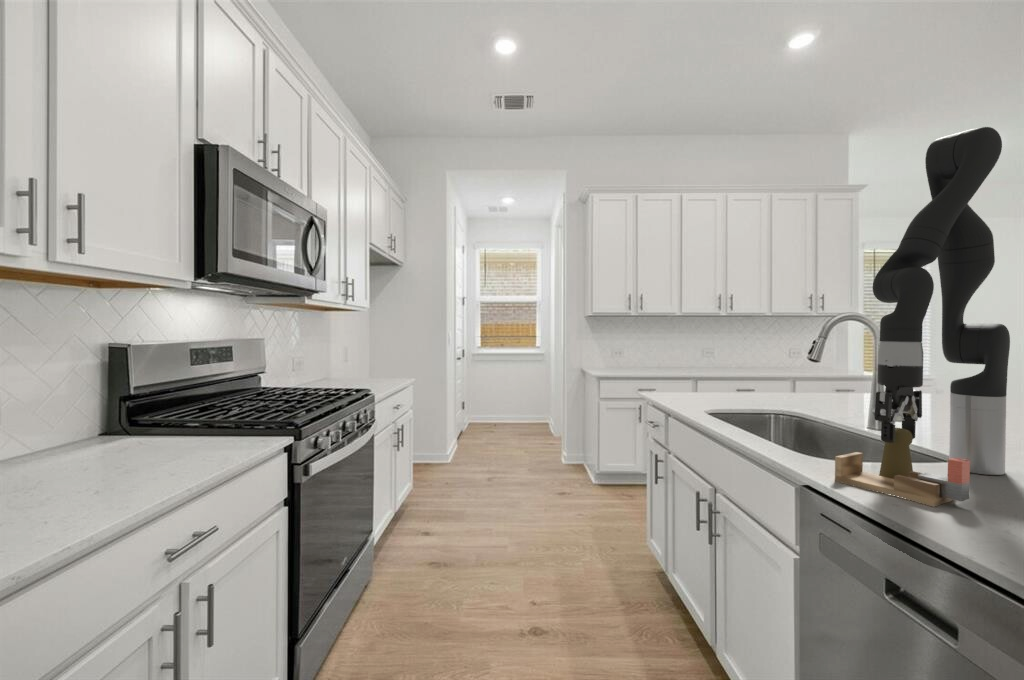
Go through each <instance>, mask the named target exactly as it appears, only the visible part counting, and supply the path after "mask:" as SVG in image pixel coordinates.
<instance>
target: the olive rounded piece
mask: <svg viewBox="0 0 1024 680" xmlns="http://www.w3.org/2000/svg"><path fill="white" fill-rule="evenodd" d="M913 440H914V439H913V436H912V433H911V432H910V431H908V430H906V429H902V427H895V442H892V443H890V442H884V446H883V451H882V458H881V464H880V468H879V473H878V474H879V476H883V477H887V478H891V479H894V476H895V475H902V476H906V477H908V472H911V471H914V470H913V462H912V457H911V456H912V455H911V450H910V449H911V448H910V445H911V444H912V442H913Z"/></svg>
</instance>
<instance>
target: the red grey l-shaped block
mask: <svg viewBox="0 0 1024 680" xmlns="http://www.w3.org/2000/svg"><path fill="white" fill-rule="evenodd" d="M970 476H971V472H970V460H967V459H962V458H952V459H949V458H948V459H947V476H943V475H937V474H934V473H933V474H932V473H928V472H924V473H923V474H919V475H918V479H919V480H924V481H928V482H932V483H937V484H940V493H939V496H941V497H945V498H949V499H953V500H952V501H954V500H955V501H959V502H964V501H967V500H970V487H971V486H970V484H971V483H970V481H971V479H970Z"/></svg>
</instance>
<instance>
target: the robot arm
mask: <svg viewBox="0 0 1024 680" xmlns="http://www.w3.org/2000/svg"><path fill="white" fill-rule="evenodd" d="M1002 140H1003V139H1002V137H1001V135H1000V133H999V132H998V131H997V130H996V129H995V128H993V127H991V126H980V127H977V128H971V129H967V130H964V131H961V132H956V133H953V134H949V135H946V136H942V137H940V138H936V139H934V141H932V142H931V143H930V144H929V146H928V147H927V150H926V153H925V173H926V177H927V183H928V186H929V187H928V188H929V191H930V196H931V200H930V201H929V202H928V203H927V204H926V205H925V206H924V207H923V208H921V210H920V211H918V213H917V214H916V215H915V216H914V217H913V218H912V220H911V222H909V224H908V227H907V228H906V231H905V232H904V234H903V237H902V238H901V240H900V243H899V245H898V247H897V249H896V250H895V251H894V252H893V253H892V255H890V256H889V258H888V259H887V260H886V261H885V263H884V264H883V265H882V266H881V267H880V269H879V270H878V272H876V273H877V274H876V275H875V277H874V279H873V282H872V292H873V295H874V297H875V298H876V299H877V301H879V302H882V303H885V304H886V303H887V304H893V303H894V304H895V303H896V305H895V308H894V311H893V312H890V313H889V314H886V315H884V316H882V317H881V319H880V322H879V323H880V324H879V343H878V344H879V345H878V351H877V376H876V377H877V380H876V381H877V384H878V385H880V386H884V387H885V390H884V391H876V393H875V402H874V404H875V405H874V420H875V421H878V422H879V423H880V426H881V427H880V431H881V432H880V440H881V442H884V443H885V442H890V443H892V442H895V428H896V422H897V419H898V417H901V419H902V420H901V428H902V429H906V430H908V431H910V432H911V433H912V436H913V440H914V439H916V425H917V424H916V423H917V422H918V420H919V419H921V418H922V417H923V391H922V390H919V389H914V388H921V387H922V386H923V384H924V349H923V322H924V320H925V317H926V315H927V313H928V309H929V307H930V303H931V299H932V297H933V294H934V290H935V287H934V286H935V283H934V279H933V277H932V274H931V273H930V272H929V271H928V270H927V269H926V268H923V267H925V266H927V265H930V264H931V263H934V262H935V261H936V260H937V265H938V272H939V279H940V280H939V281H940V282H939V283H940V291H941V347H942V353H943V356H944V358H945V359H946V361H947V362H949V363H952V364H953V363H954V364H966V365H984V368H983V370H982V371H981V372H980V373H977V374H975V375H972V376H968V377H963V378H962V377H961V378H958V379H953V380H952V381H951V382H950V386H949V387H950V388H949V389H950V395H949V396H950V397H949V399H950V401H949V451H948V456H949V458H948V459H952V458H962V459H967V460H970V474H971V473H972V474H978V475H979V474H980V475H988V476H990V475H991V476H1001V475H1005V474H1006V450H1007V449H1006V445H1007V442H1006V441H1007V439H1006V437H1007V389H1008V388H1007V387H1008V372H1009V371H1008V369H1009V359H1010V351H1011V350H1010V345H1011V336H1010V331H1009V328H1008V327H1007V326H1006V325H1005V324H1002V323H965V322H964V317H965V311H966V308H967V306H968V303H969V302H970V300H971V299H972V297H973V295H974V294H975V293H976V292H977V290H978V289H979V288H980V287H981V285H982V284H983V283H984V282H985V281H986V279H987V278H988V276H989V275H990V273H991V272H992V270H993V268H994V265H995V262H996V261H995V260H996V259H995V244H994V235H993V232H992V230H991V228H990V227H989V226H988V224H987V223H986V221H984V220H983V219H982V218H981V217H980V215H979V214H977V213H976V212H975V211H974V209H973V208H972V207H971V206H970V204H969V202H970V201H971V199H973V197H974V196H975V194H976V193H977V191H978V190H979V188H981V186H982V184H983V183H984V182H985V180H986V179H987V178H988V176H989V175H990V174H991V172H992V171H993V169H994V167H995V166H996V164H997V162H998V161H999V158H1000V156H1001V154H1002V151H1003V150H1002V149H1003V141H1002Z"/></svg>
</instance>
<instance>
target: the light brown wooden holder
mask: <svg viewBox="0 0 1024 680" xmlns="http://www.w3.org/2000/svg"><path fill="white" fill-rule="evenodd" d="M863 456H864V454H863V452H859V451H855V452H851V453H850V452H849V453H847V454H846V453H845V454H841V455H835V456H834V458H835V460H834V481H835V482H837V483H841V484H845V485H849V486H852V485H854V487H856V486H858V487H857V488H860V487H861V489H864V488H866V489H865V490H868V489H870V490H869V491H871V490H874V491H873V492H875V491H878V492H877V493H879V492H883V493H887V494H891V495H895V496H899V497H903V498H906V499H909V500H908V501H910V500H912V501H911V502H913V501H916V502H915V503H917V502H919V503H918V504H921V503H922V505H925V504H926V506H929V507H937V506H940V505H943V504H945V503H949V502H952V501H954V500H953V499H949V498H945V497H941V496H939V493H940V484H937V483H932V482H928V481H924V480H919V479H918V475H919V474H923V473H922V472H919V471H915V470H913V471H911V472H908V477H906V476H902V475H895V476H894V479H891V478H887V477H883V476H879V475H878V474H875V473H869V472H865V471H864V470H863V466H864V465H863V461H864V458H863ZM883 493H882V494H883ZM887 494H886V495H887ZM891 495H890V496H891ZM906 499H905V500H906Z"/></svg>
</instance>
